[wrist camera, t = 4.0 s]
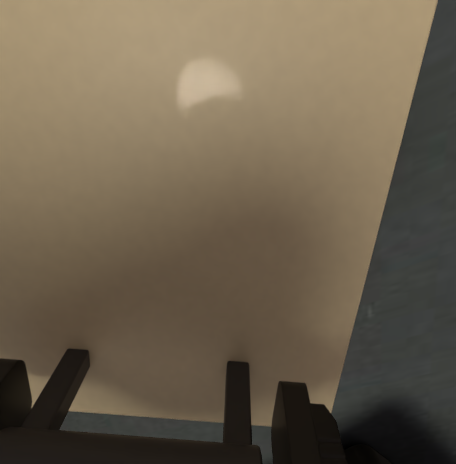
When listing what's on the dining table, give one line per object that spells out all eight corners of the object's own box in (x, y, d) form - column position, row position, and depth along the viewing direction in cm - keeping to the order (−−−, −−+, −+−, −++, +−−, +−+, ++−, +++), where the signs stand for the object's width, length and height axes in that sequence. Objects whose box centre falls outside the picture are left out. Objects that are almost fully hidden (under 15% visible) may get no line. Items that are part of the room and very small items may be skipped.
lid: (322, 412, 14) (368, 607, 9) (2, 387, 14) (-131, 570, 9) (444, -85, 8) (787, -329, 3) (-117, -132, 8) (-721, -458, 3)
